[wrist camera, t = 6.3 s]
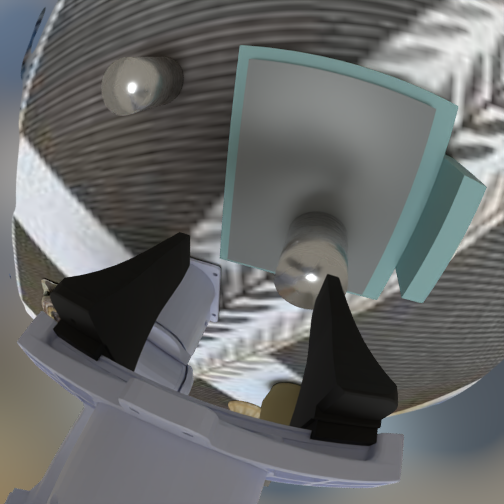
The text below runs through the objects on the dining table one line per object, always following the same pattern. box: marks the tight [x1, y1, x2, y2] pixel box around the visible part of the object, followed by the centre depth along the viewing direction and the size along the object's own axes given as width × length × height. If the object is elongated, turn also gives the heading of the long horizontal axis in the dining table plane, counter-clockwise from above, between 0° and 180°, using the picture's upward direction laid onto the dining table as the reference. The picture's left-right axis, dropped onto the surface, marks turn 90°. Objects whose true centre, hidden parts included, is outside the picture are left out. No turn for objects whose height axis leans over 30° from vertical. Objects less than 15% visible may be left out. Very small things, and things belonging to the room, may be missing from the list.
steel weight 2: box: [274, 211, 348, 310], centre depth 18 cm, size 4×4×5 cm
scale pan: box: [227, 59, 436, 295], centre depth 18 cm, size 16×12×1 cm
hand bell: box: [228, 401, 261, 418], centre depth 46 cm, size 8×8×16 cm
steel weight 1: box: [102, 57, 184, 116], centre depth 17 cm, size 4×4×5 cm
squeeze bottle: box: [259, 383, 301, 486], centre depth 35 cm, size 8×8×18 cm
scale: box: [220, 45, 487, 303], centre depth 18 cm, size 18×17×6 cm
